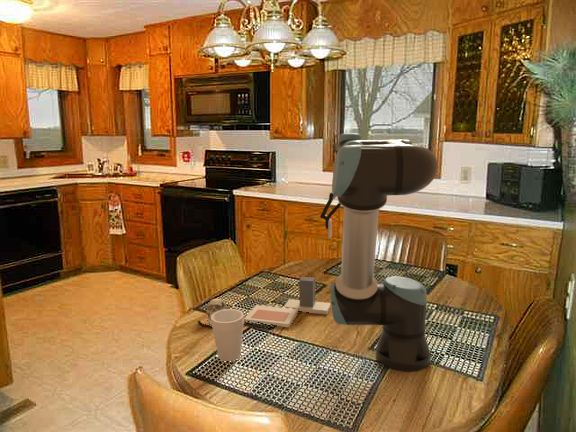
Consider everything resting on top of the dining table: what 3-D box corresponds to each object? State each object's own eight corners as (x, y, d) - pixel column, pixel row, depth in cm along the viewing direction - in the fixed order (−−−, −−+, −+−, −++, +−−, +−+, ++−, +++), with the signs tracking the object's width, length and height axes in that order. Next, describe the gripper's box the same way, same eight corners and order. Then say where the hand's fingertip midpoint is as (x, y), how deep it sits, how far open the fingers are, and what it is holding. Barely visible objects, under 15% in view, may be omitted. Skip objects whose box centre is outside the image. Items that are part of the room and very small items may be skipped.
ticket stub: (327, 314, 155) (327, 284, 152) (284, 310, 159) (283, 280, 157) (330, 306, 161) (330, 277, 159) (289, 302, 166) (288, 274, 163)
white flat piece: (288, 328, 145) (288, 323, 145) (244, 323, 149) (243, 318, 149) (298, 312, 157) (298, 308, 157) (256, 308, 162) (256, 304, 161)
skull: (232, 326, 145) (210, 304, 144) (211, 344, 148) (189, 323, 146) (239, 310, 157) (219, 290, 156) (220, 327, 159) (200, 307, 158)
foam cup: (230, 345, 134) (228, 306, 131) (252, 355, 128) (250, 314, 126) (206, 358, 127) (204, 317, 124) (228, 369, 121) (226, 326, 118)
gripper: (387, 178, 150) (385, 237, 154) (316, 177, 156) (316, 234, 161) (386, 180, 143) (384, 243, 147) (311, 179, 149) (312, 239, 154)
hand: (348, 238), depth 154 cm, fingers open, 13 cm apart
